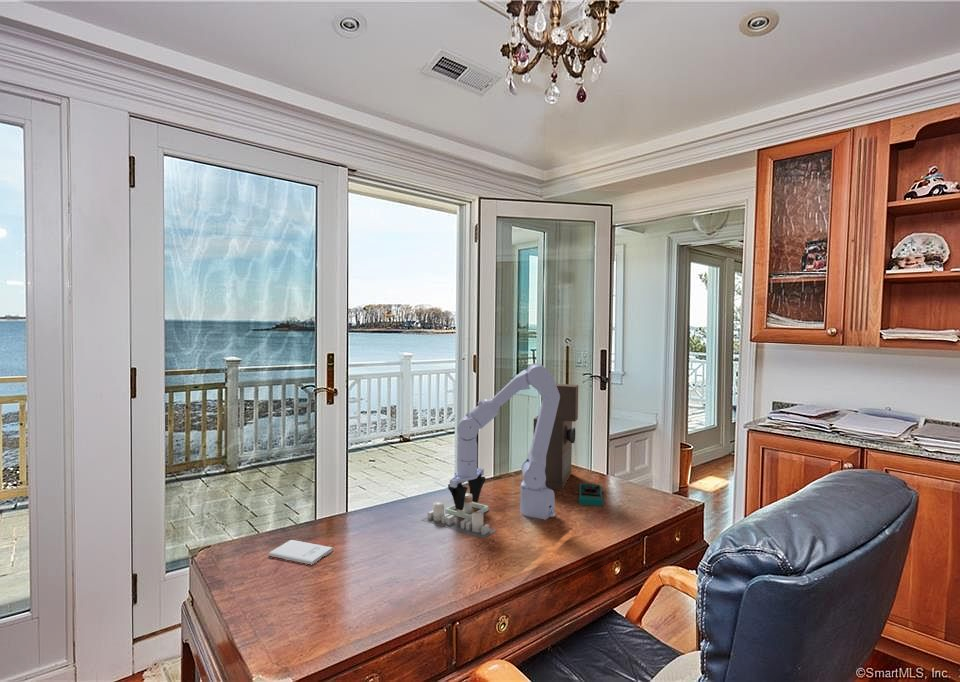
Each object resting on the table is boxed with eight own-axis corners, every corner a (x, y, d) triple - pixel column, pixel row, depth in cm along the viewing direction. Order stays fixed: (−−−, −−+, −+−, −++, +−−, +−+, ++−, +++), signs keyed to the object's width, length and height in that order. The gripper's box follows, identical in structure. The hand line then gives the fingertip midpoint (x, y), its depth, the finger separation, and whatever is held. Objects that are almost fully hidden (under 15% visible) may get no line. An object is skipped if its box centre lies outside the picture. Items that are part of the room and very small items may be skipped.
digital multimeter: (601, 492, 171) (601, 483, 171) (603, 508, 156) (603, 498, 156) (579, 490, 172) (579, 482, 172) (578, 506, 158) (578, 496, 158)
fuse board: (496, 534, 135) (496, 523, 135) (484, 542, 130) (484, 531, 130) (434, 517, 146) (434, 507, 146) (420, 524, 141) (420, 513, 141)
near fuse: (485, 530, 135) (485, 513, 135) (479, 534, 132) (479, 516, 132) (475, 527, 137) (476, 510, 136) (469, 531, 134) (469, 514, 134)
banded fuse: (474, 513, 148) (474, 494, 148) (467, 516, 146) (468, 497, 146) (465, 510, 150) (466, 492, 150) (459, 513, 148) (459, 495, 147)
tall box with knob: (573, 491, 170) (575, 386, 169) (532, 486, 175) (533, 384, 174) (582, 475, 188) (583, 380, 187) (544, 470, 193) (545, 378, 192)
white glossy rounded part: (446, 519, 142) (446, 503, 142) (439, 522, 140) (439, 506, 139) (437, 516, 144) (437, 501, 144) (430, 520, 141) (431, 504, 141)
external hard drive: (292, 545, 129) (333, 552, 125) (268, 559, 121) (311, 567, 117) (292, 538, 129) (333, 546, 125) (268, 552, 121) (311, 561, 117)
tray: (488, 514, 149) (488, 506, 149) (471, 524, 142) (471, 515, 142) (463, 507, 154) (463, 499, 154) (445, 517, 147) (445, 508, 147)
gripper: (470, 451, 156) (469, 495, 156) (441, 462, 144) (440, 510, 144) (489, 455, 152) (489, 500, 152) (461, 466, 140) (461, 515, 140)
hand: (467, 505), depth 148 cm, fingers open, 7 cm apart
